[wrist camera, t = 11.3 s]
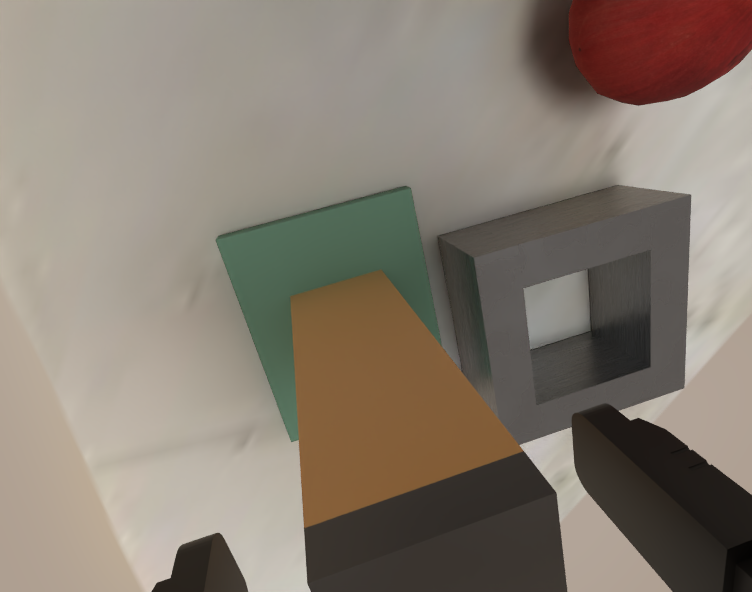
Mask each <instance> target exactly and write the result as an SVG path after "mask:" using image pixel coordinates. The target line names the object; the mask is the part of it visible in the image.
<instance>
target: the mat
mask: <svg viewBox="0 0 752 592" xmlns="http://www.w3.org/2000/svg"><path fill="white" fill-rule="evenodd" d="M216 242H217V245H218V248H219V250H220V253H221V256H222V258H223V261H224V264H225V266H226V269H227V272H228V274H229V277H230V280H231V282H232V285H233V288H234V290H235V293H236V296H237V298H238V301H239V304H240V306H241V309H242V312H243V314H244V317H245V320H246V322H247V325H248V328H249V330H250V333H251V336H252V338H253V341H254V344H255V346H256V349H257V352H258V354H259V357H260V360H261V362H262V365H263V368H264V370H265V373H266V376H267V378H268V381H269V384H270V386H271V389H272V392H273V394H274V397H275V400H276V402H277V405H278V408H279V410H280V413H281V416H282V418H283V421H284V424H285V426H286V429H287V432H288V434H289V437H290V440H291V442H293V441H297V440H299V434H298V417H297V401H296V384H295V367H294V351H293V334H292V318H291V301H290V296H293V295H296V294H299V293H303V292H306V291H310V290H313V289H316V288H320V287H323V286H327V285H330V284H333V283H337V282H340V281H344V280H347V279H350V278H354V277H357V276H361V275H364V274H367V273H371V272H374V271H378V270H382V271H383V272H384V274H385V275H386V276H387V277H388V279H389V280H390V281H391V283H392V284H393V285H394V286H395V288H396V289H397V290H398V291H399V293H400V294H401V295H402V297H403V298H404V299H405V300H406V302H407V303H408V304H409V306H410V307H411V308H412V309H413V311H414V312H415V313H416V314H417V316H418V317H419V318H420V320H421V321H422V322H423V323H424V325H425V326H426V327H427V328H428V330H429V331H430V332H431V334H432V335H433V336H434V337H435V339H436V340H437V341H438V342H439V344H440V345H441V340H440V334H439V329H438V324H437V319H436V314H435V309H434V304H433V299H432V294H431V289H430V284H429V279H428V274H427V268H426V263H425V258H424V253H423V248H422V243H421V238H420V233H419V228H418V223H417V218H416V213H415V208H414V203H413V197H412V192H411V188H409V187H407V186H404V187H400V188H397V189H393V190H389V191H385V192H382V193H378V194H374V195H370V196H367V197H363V198H359V199H355V200H352V201H348V202H344V203H340V204H337V205H333V206H329V207H325V208H322V209H318V210H314V211H311V212H307V213H303V214H299V215H296V216H292V217H288V218H284V219H281V220H277V221H273V222H269V223H266V224H262V225H258V226H254V227H251V228H247V229H243V230H239V231H236V232H232V233H228V234H224V235H221V236H218V237H217V239H216ZM441 346H442V345H441Z"/></svg>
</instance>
